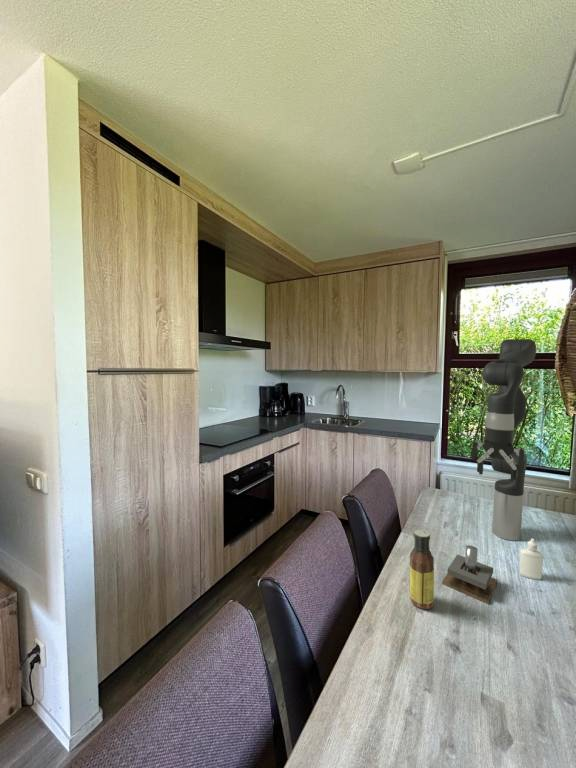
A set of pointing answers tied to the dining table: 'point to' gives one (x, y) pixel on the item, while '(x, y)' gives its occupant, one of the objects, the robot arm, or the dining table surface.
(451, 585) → the bronze plate with post
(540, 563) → the eye dropper bottle
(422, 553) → the sauce bottle
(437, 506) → the dining table surface
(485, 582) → the collar
